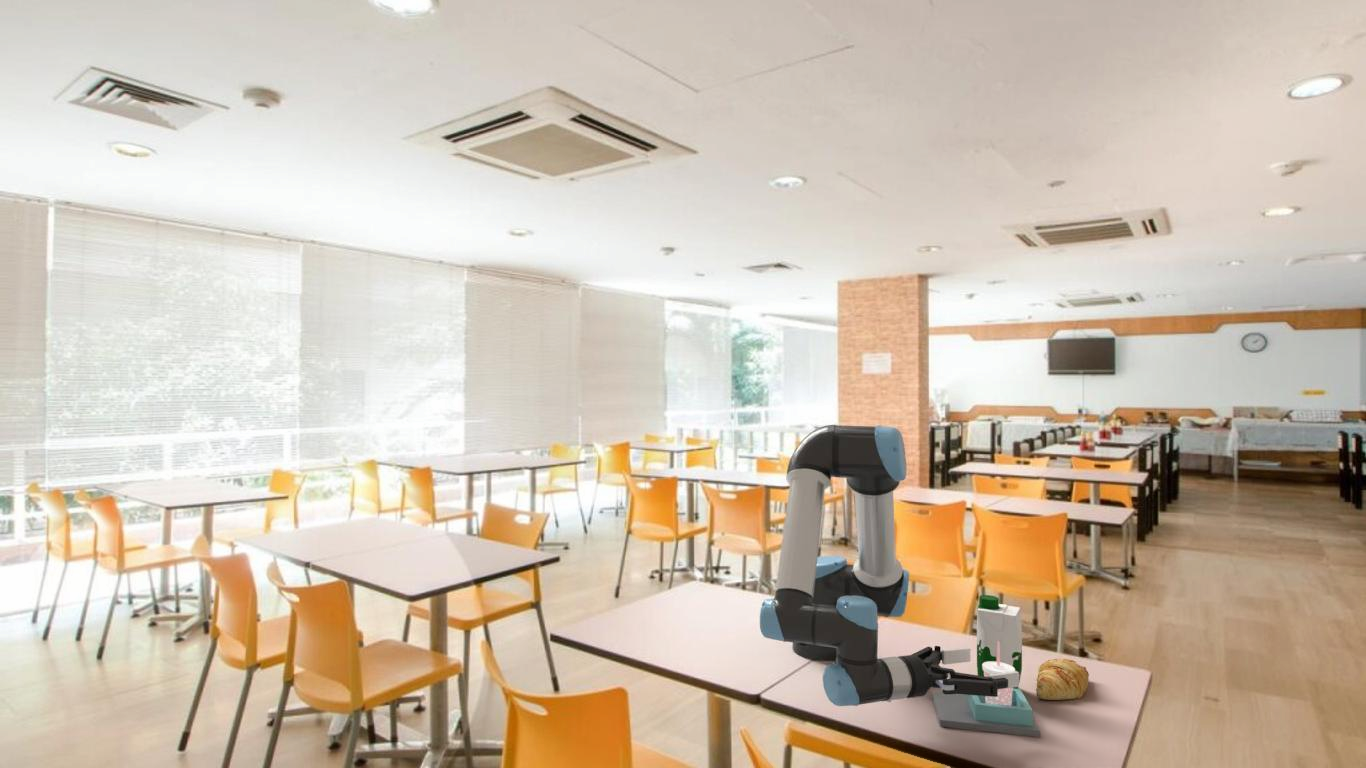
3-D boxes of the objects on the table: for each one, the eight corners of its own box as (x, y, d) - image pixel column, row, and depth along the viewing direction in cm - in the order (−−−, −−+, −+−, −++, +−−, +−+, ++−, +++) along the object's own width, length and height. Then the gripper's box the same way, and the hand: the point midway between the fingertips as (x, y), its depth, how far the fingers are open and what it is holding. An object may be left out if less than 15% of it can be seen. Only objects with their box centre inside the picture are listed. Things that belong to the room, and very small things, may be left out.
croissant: (1053, 723, 149) (1072, 695, 147) (1011, 687, 156) (1028, 660, 153) (1094, 695, 163) (1112, 669, 160) (1054, 663, 170) (1070, 638, 167)
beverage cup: (1013, 720, 140) (1014, 649, 140) (980, 713, 143) (980, 643, 143) (1016, 709, 145) (1016, 640, 145) (983, 702, 148) (984, 634, 148)
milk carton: (980, 678, 164) (980, 591, 164) (1024, 687, 159) (1024, 597, 160) (973, 691, 157) (974, 600, 157) (1018, 701, 152) (1019, 607, 152)
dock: (939, 726, 140) (940, 704, 140) (931, 697, 154) (931, 677, 154) (1039, 737, 136) (1039, 714, 136) (1022, 706, 149) (1022, 686, 150)
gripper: (866, 672, 149) (951, 662, 155) (943, 725, 125) (1040, 711, 131) (866, 636, 149) (951, 628, 155) (943, 682, 125) (1040, 670, 132)
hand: (992, 666), depth 143 cm, fingers open, 13 cm apart
